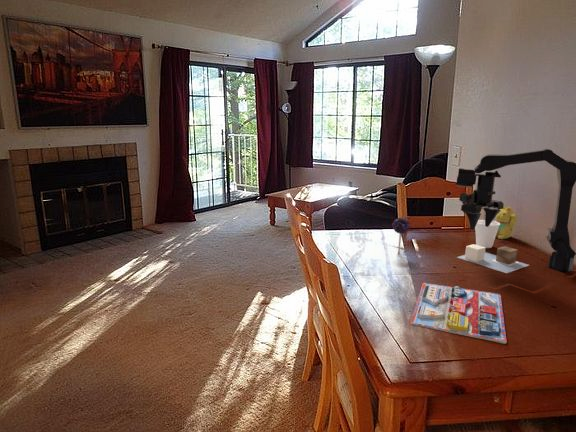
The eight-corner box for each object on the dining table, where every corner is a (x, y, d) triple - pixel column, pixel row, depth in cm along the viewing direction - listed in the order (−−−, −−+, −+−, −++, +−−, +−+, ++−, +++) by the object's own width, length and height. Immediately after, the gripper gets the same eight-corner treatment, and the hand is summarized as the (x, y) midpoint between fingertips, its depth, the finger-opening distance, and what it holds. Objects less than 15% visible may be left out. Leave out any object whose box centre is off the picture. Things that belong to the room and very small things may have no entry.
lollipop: (405, 251, 170) (409, 216, 166) (408, 256, 163) (412, 220, 160) (388, 250, 170) (391, 215, 167) (391, 256, 164) (394, 219, 160)
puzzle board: (422, 285, 137) (423, 278, 136) (499, 299, 128) (501, 291, 127) (409, 326, 110) (410, 317, 109) (506, 347, 101) (507, 337, 100)
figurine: (486, 234, 197) (490, 203, 194) (500, 233, 200) (505, 203, 196) (504, 241, 187) (509, 208, 183) (519, 239, 189) (524, 208, 186)
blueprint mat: (529, 266, 155) (529, 264, 155) (506, 274, 146) (506, 273, 146) (479, 252, 171) (479, 250, 171) (456, 258, 162) (456, 257, 162)
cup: (501, 251, 173) (504, 225, 170) (477, 250, 173) (480, 225, 170) (490, 243, 182) (493, 219, 180) (467, 243, 183) (470, 219, 180)
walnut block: (515, 262, 157) (517, 249, 156) (508, 264, 155) (510, 251, 153) (502, 258, 161) (504, 246, 160) (495, 260, 159) (497, 248, 158)
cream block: (483, 259, 159) (485, 247, 158) (476, 262, 157) (478, 249, 156) (472, 256, 163) (473, 244, 162) (464, 258, 161) (466, 246, 160)
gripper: (480, 183, 168) (475, 220, 171) (451, 186, 158) (446, 226, 161) (507, 187, 158) (501, 226, 162) (477, 191, 149) (472, 233, 152)
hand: (479, 227), depth 160 cm, fingers open, 9 cm apart
